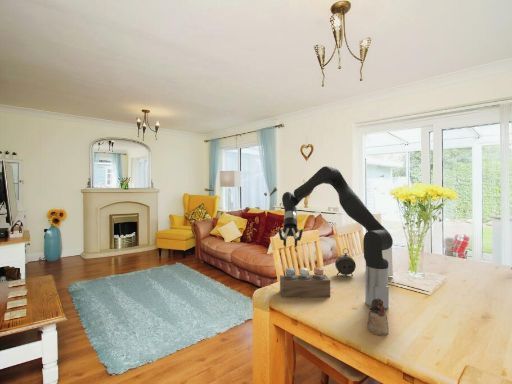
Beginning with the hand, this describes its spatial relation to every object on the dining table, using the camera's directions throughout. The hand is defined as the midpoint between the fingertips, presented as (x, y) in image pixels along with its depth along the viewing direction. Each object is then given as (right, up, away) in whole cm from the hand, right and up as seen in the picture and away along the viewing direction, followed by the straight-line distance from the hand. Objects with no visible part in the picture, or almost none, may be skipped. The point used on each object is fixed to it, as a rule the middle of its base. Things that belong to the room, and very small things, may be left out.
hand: (290, 246), depth 145 cm
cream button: (+5, -11, -12) cm, 18 cm away
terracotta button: (+12, -11, -12) cm, 21 cm away
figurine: (+26, -22, -45) cm, 57 cm away
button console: (+5, -21, -12) cm, 25 cm away
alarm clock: (+34, -20, +13) cm, 42 cm away
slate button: (-2, -11, -13) cm, 17 cm away
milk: (+56, -20, +17) cm, 62 cm away
